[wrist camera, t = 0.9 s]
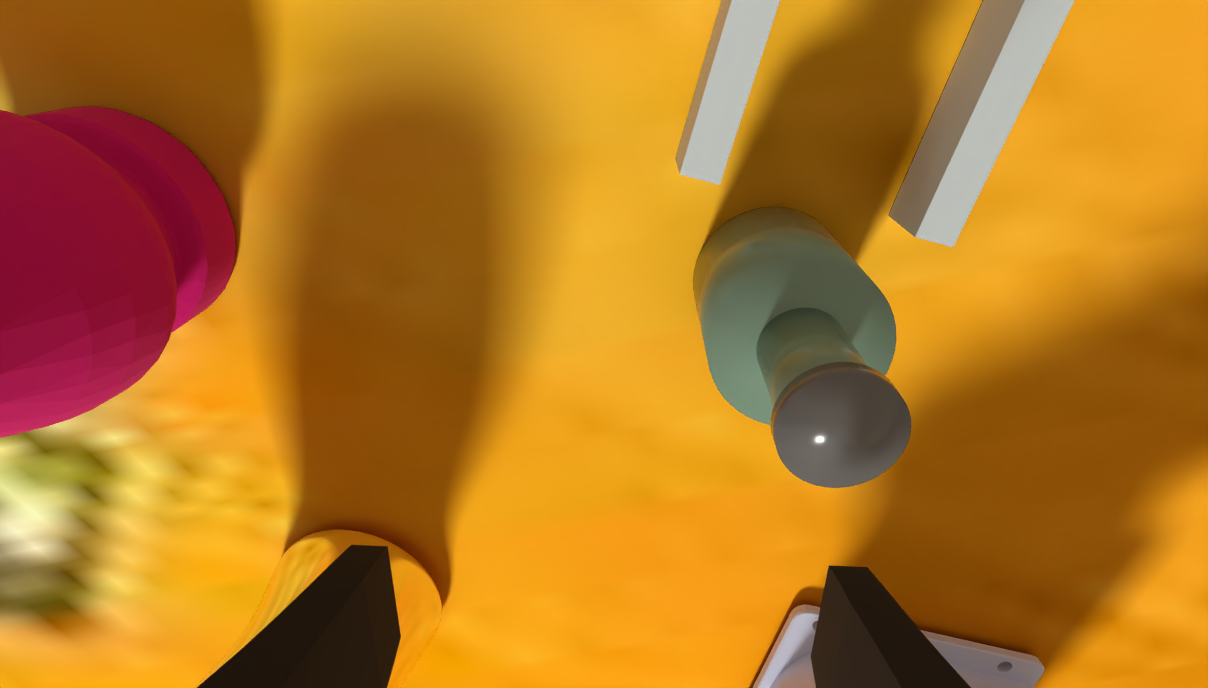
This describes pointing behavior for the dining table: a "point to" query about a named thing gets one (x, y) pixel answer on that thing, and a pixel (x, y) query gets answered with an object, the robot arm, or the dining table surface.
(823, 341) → the bottle
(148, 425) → the dining table surface
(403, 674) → the pale grey carved column
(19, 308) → the pepper mill
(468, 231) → the dining table surface
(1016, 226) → the dining table surface
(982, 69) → the rest
